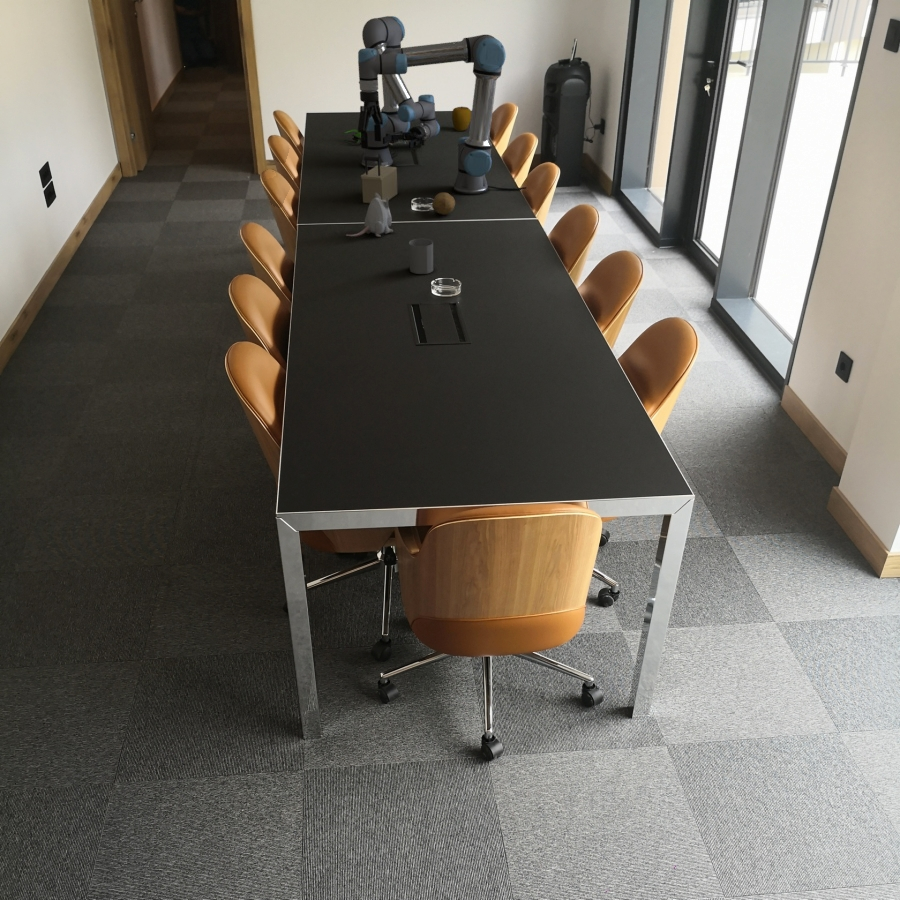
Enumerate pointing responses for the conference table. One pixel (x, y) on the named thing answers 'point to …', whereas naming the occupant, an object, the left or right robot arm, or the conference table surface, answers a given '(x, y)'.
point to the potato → (443, 203)
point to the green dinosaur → (359, 138)
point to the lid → (377, 169)
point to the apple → (461, 118)
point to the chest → (380, 188)
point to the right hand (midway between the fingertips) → (371, 144)
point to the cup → (421, 256)
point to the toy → (377, 217)
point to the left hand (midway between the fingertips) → (396, 142)
